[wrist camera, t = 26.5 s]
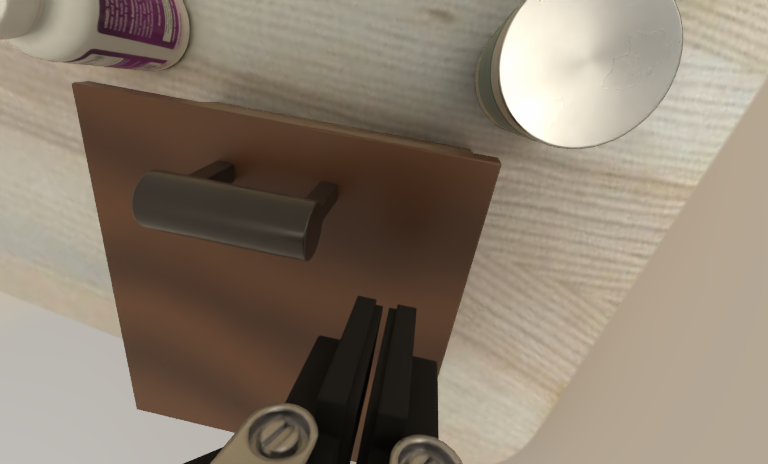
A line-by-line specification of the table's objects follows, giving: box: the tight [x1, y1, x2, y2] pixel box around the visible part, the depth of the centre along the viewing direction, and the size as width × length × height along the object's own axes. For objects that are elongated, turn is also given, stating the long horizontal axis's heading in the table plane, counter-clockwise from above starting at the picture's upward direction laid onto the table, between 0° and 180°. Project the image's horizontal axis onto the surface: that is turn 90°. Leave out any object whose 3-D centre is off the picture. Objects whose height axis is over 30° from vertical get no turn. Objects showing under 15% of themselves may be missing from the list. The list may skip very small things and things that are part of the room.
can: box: [475, 0, 683, 149], centre depth 17 cm, size 6×6×8 cm
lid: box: [72, 81, 501, 462], centre depth 16 cm, size 17×16×5 cm
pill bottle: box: [0, 0, 190, 71], centre depth 18 cm, size 5×5×10 cm
